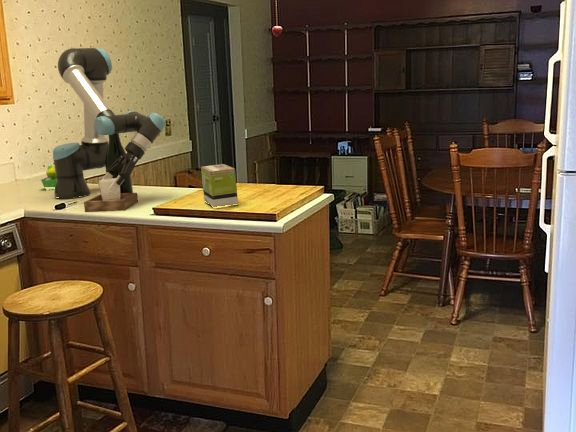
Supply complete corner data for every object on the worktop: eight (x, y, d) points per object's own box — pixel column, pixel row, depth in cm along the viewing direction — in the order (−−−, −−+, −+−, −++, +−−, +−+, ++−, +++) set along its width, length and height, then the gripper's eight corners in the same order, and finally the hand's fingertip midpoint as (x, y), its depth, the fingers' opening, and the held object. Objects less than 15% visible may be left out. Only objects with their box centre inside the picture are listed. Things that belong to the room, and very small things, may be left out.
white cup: (104, 203, 256) (101, 179, 253) (123, 202, 256) (120, 177, 254) (100, 207, 248) (97, 182, 246) (120, 205, 248) (117, 180, 246)
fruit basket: (43, 191, 303) (39, 168, 300) (41, 189, 310) (38, 166, 308) (67, 188, 307) (64, 165, 305) (66, 186, 315) (63, 163, 312)
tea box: (203, 203, 250) (200, 166, 246) (227, 199, 253) (224, 163, 250) (213, 209, 236) (210, 170, 233) (239, 206, 239) (236, 167, 236)
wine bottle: (115, 194, 281) (106, 120, 274) (137, 193, 279) (128, 119, 272) (104, 199, 271) (94, 122, 264) (127, 198, 269) (118, 121, 262)
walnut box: (85, 212, 246) (83, 201, 245) (101, 203, 261) (99, 194, 260) (124, 210, 244) (123, 200, 243) (138, 202, 259) (137, 192, 259)
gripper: (156, 154, 246) (123, 198, 242) (133, 150, 267) (103, 190, 262) (142, 142, 242) (108, 186, 238) (120, 139, 263) (89, 179, 258)
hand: (105, 188), depth 250 cm, fingers open, 13 cm apart
